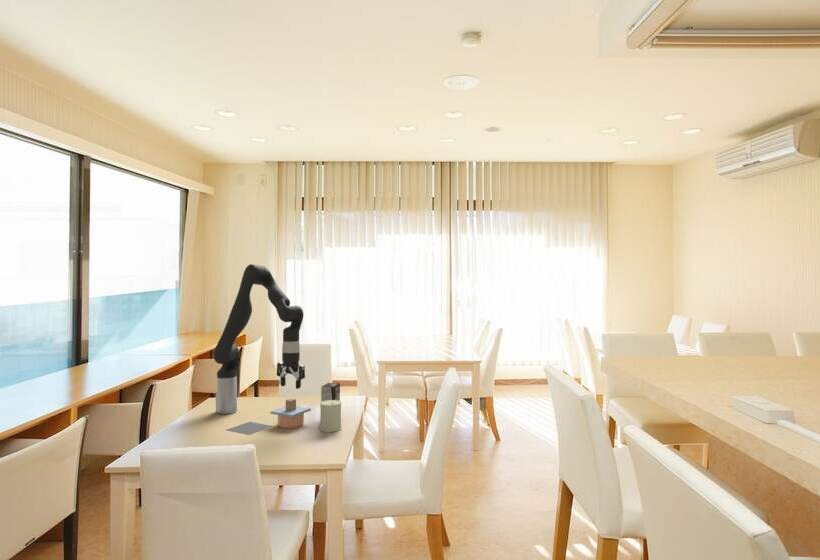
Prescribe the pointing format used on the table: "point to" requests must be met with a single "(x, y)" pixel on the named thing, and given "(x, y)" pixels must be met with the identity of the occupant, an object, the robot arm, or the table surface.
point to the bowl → (290, 421)
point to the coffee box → (330, 392)
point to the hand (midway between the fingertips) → (290, 387)
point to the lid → (290, 409)
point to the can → (330, 415)
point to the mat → (249, 428)
